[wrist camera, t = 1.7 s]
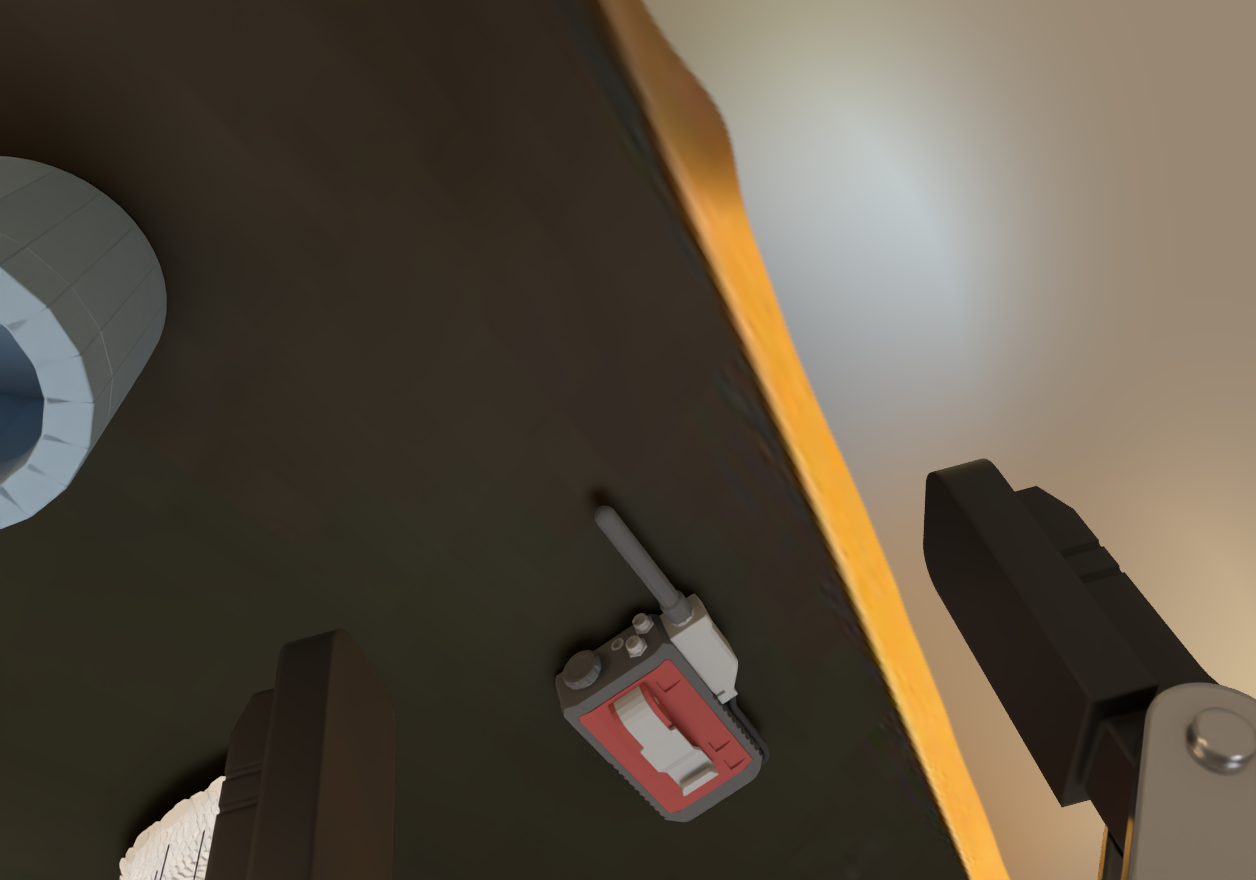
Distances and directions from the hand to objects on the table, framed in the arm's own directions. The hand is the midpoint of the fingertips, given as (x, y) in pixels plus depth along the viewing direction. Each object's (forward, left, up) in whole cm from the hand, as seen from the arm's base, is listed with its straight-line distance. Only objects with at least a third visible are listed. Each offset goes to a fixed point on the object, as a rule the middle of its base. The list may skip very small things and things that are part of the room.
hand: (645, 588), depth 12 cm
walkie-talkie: (+23, -8, -26) cm, 36 cm away
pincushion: (+15, -29, -26) cm, 42 cm away
